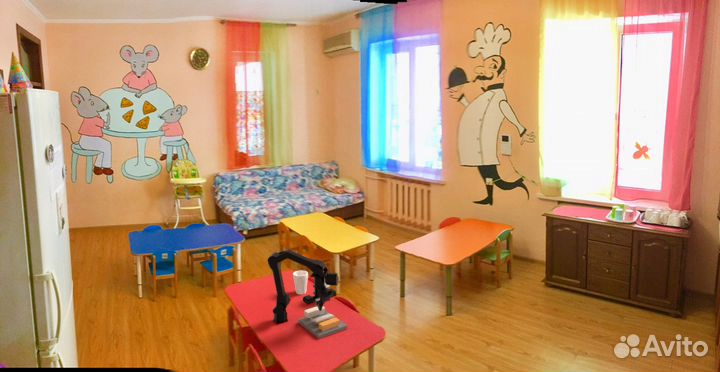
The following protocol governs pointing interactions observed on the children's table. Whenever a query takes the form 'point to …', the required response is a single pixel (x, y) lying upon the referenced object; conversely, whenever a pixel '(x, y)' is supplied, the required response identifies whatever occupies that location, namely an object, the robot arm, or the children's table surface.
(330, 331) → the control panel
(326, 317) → the cream plate with stripe
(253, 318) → the children's table surface
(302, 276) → the foam cup
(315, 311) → the cream key
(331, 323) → the orange key
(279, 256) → the robot arm
